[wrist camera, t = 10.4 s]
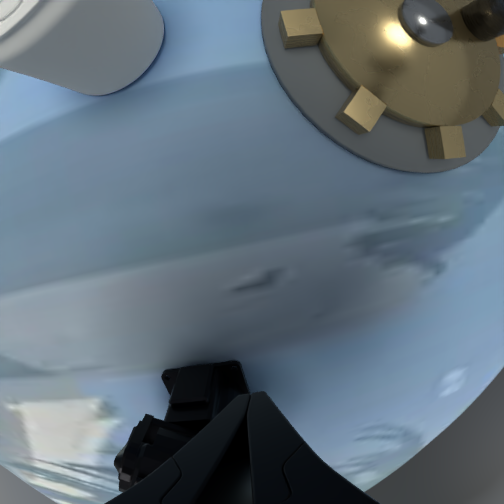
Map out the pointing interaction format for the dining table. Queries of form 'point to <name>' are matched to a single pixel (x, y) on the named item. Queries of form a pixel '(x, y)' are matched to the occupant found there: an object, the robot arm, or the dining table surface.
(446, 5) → the sprocket
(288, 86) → the sprocket base
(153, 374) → the dining table surface
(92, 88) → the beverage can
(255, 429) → the robot arm
